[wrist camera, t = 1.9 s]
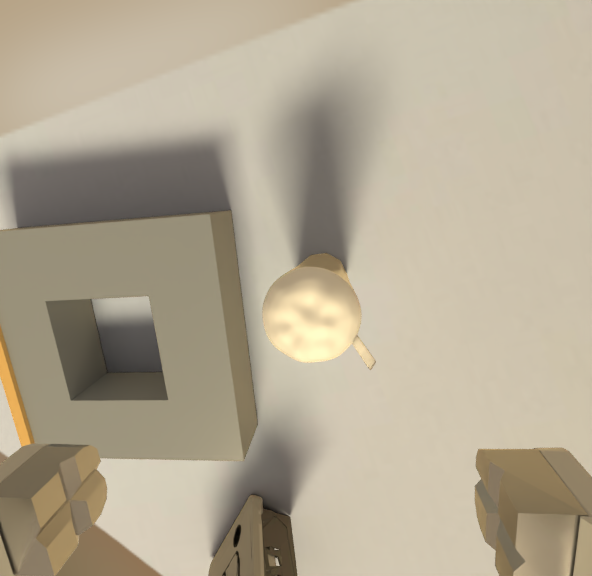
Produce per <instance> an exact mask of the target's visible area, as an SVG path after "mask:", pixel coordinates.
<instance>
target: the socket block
mask: <svg viewBox="0 0 592 576" xmlns="http://www.w3.org/2000/svg"><path fill="white" fill-rule="evenodd" d="M140 296H149V300H150V305H151V311H152V316H153V321H154V327H155V332H156V337H157V343H158V348H159V353H160V359H161V364H162V370H163V372H127V373H107V369H106V365H105V361H104V356H103V352H102V347H101V343H100V338H99V334H98V330H97V325H96V321H95V316H94V312H93V308H92V303H91V299H99V298H120V297H140ZM0 377H1V380H2V384H3V387H4V390H5V393H6V397H7V400H8V403H9V407H10V410H11V413H12V417H13V420H14V423H15V426H16V430H17V433H18V436H19V440H20V443H21V446H22V447H23V446H25V445H29V444H74V445H91V446H93V447H95V448H97V450H98V453H99V457H100V458H114V459H164V460H213V461H244V459H245V457H246V454H247V451H248V449H249V446H250V444H251V441H252V438H253V436H254V433H255V430H256V428H257V425H258V422H257V414H256V406H255V398H254V390H253V382H252V374H251V366H250V358H249V350H248V342H247V334H246V326H245V317H244V309H243V301H242V293H241V285H240V277H239V269H238V261H237V253H236V245H235V237H234V229H233V221H232V213H231V210H230V211H217V212H205V213H193V214H181V215H169V216H157V217H145V218H133V219H120V220H108V221H96V222H84V223H72V224H60V225H48V226H36V227H24V228H13V229H5V230H0Z"/></svg>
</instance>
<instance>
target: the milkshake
mask: <svg viewBox="0 0 592 576" xmlns="http://www.w3.org/2000/svg"><path fill="white" fill-rule="evenodd" d="M263 323H264V328H265V331H266V334H267V336H268V338H269V340H270V341H271V343H272V344H273V345H274V346H275V347H276V348H277V349H278V350H280V351H281V352H283V353H284V354H286V355H288V356H289V357H291V358H293V359H295V360H297V361H300V362H307V363H308V362H319V361H327V360H331V359H333V358H336V357H337V356H339V355H341V354H342V353H343V352H344V351H345V350H346V349H347V348H348V347H349V346H350V345H351V344H353V346H354V347H355V349H356V350H357V352H358V353H359V355H360V356H361V358H362V359H363V361H364V362H365V364H366V365H367V367H368V368H369V369H370V370H371V369H372V368H373V366H374V364H375V363H376V361H375V359H374V358H373V356H372V355H371V354H370V352H369V351H368V349H367V348H366V347H365V345H364V344H363V342H362V341H361V340H360V338H359V337H358V335H357V333H358V331H359V328H360V324H361V307H360V303H359V300H358V298H357V295H356V293H355V291H354V289H353V287H352V285H351V284H350V281H349V278H348V275H347V273H346V271H345V269H344V267H343V265H342V263H341V261H340V260H339V259H337V258H335V257H333V256H331V255H329V254H328V253H322V254H315V255H310V256H309V257H308V258H307V259H305V260H304V261H303V262H302V263H301V264H299V265H298V266H297V267H295V268H293V269H292V270H290V271H289V272H287V273H285V274H284V275H282V276H281V277H280V278H278V279H277V280H276V281H275V282H274V283H273V285H272V286H271V287H270V289H269V291H268V293H267V295H266V297H265V300H264V304H263Z"/></svg>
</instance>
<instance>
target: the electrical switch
mask: <svg viewBox="0 0 592 576" xmlns="http://www.w3.org/2000/svg"><path fill="white" fill-rule="evenodd" d="M274 548H276V549H279V550H274ZM275 557H276V558H278V561H279V564H280V566H276V562H275ZM208 576H297V569H296V560H295V552H294V544H293V535H292V527H291V519H290V517H289V516H286V515H282V514H278V513H275V512H273V511H271V510H266V509H263V499H262V498H261V497H260V496H255V495H251V496H249V498H248V499H247V501H246V503H245V505H244V506H243V508H242V510H241V512H240V513H239V515H238V517H237V518H236V520H235V522H234V524H233V525H232V527H231V529H230V531H229V532H228V534H227V536H226V538H225V539H224V541H223V543H222V544H221V546H220V548H219V550H218V551H217V553H216V555H215V557H214V558H213V560H212V562H211V565H210V569H209V575H208Z"/></svg>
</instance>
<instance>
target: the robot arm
mask: <svg viewBox="0 0 592 576" xmlns="http://www.w3.org/2000/svg"><path fill="white" fill-rule="evenodd" d="M100 462H101V460H100V457H99V453H98V450H97V448H95V447H93V446H91V445H74V444H29V445H25V446H23V447H21V448H20V449H19V450H18V451H16V452H15V453H14V454H13V455H11V456H10V457H9V458H7V459H6V460H5V461H4V462H2V463H1V464H0V576H14V575H16V576H55V575H56V574H57V573H58V571H59V570H60V569H61V567H62V566H63V565H64V563H65V562H66V561H67V559H68V558H69V557H70V555H71V554H72V553H73V551H74V550H75V549H76V548H77V546H78V542H79V535H80V534H81V533H83V532H84V531H86V530H87V529H89V528H90V527H92V526H93V525H94V523H95V522H96V520H97V519H98V518H99V516H100V515H101V513H102V510H103V508H104V505H105V502H106V499H107V485H106V481H105V478H104V477H103V476H102V475H101V474H100V473H99V471H98V470H97V468H98V466H99V464H100ZM476 469H477V471H478V473H479V475H480V477H481V480H480V481H479V482H478V483H477V484H476V485H475V506H476V513H477V518H478V522H479V525H480V529H481V532H482V534H483V537H484V539H485V542H486V543H488V544H489V545H490V546H491V547H492V548H493V549H495V550H496V556H495V566H496V569H497V571H498V573H499V576H592V477H591V476H590V474H589V473H588V472H587V471H586V470H585V469H584V468H583V466H582V465H581V464H580V463H579V462H578V461H577V460H576V459H575V457H574V456H573V455H572V454H571V453H570V452H569V451H568V450H566V449H564V448H534V449H478V452H477V455H476Z"/></svg>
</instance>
